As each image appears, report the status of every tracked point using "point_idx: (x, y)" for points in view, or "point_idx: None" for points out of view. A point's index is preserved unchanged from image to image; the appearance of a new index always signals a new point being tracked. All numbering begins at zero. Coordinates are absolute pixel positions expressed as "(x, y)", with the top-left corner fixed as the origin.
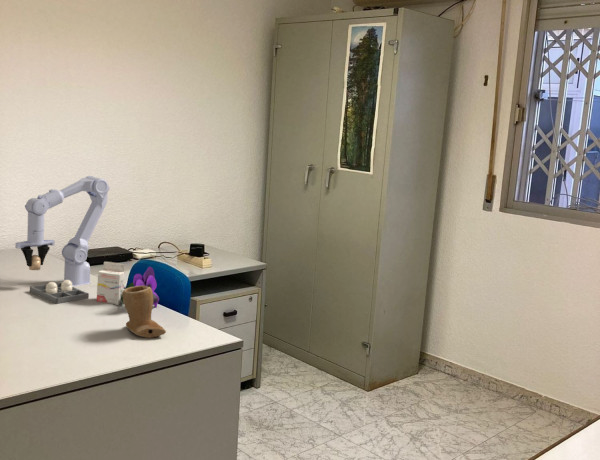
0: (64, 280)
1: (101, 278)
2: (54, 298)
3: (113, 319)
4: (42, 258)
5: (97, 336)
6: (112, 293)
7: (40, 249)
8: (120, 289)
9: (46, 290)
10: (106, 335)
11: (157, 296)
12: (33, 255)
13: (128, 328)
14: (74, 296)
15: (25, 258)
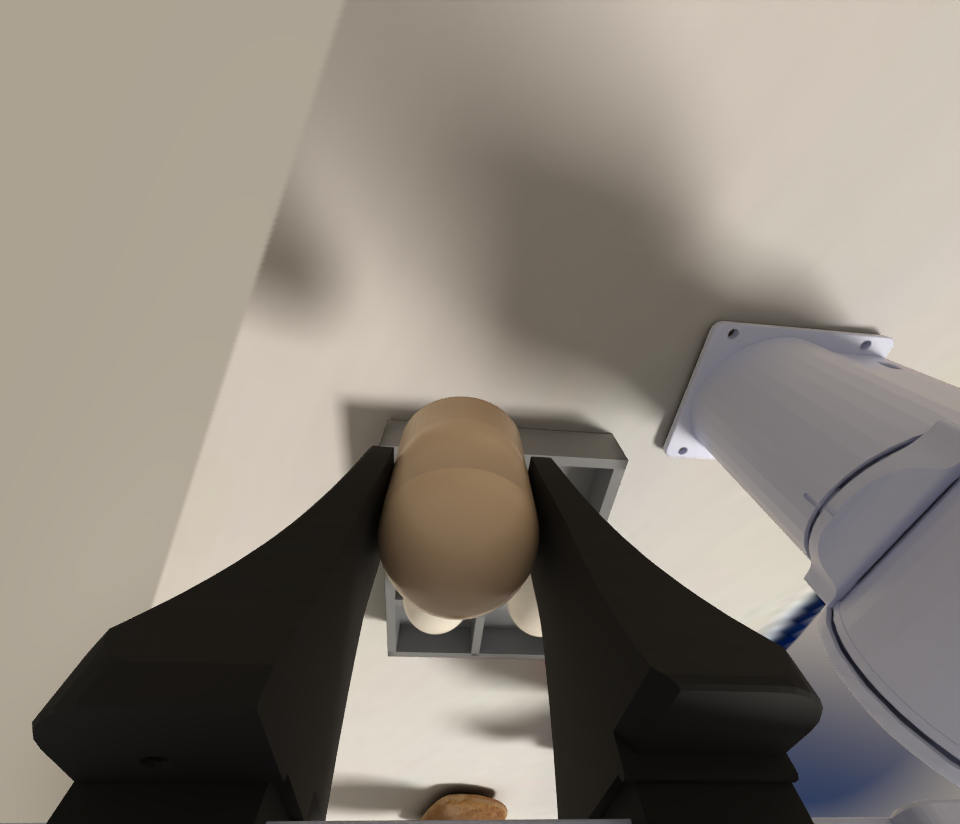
0: (531, 623)
1: None
2: (388, 640)
3: (462, 753)
4: (537, 597)
5: (344, 793)
6: None
7: (583, 708)
8: None
9: None
10: (367, 795)
11: None
12: (423, 601)
13: (426, 811)
14: (482, 654)
15: (320, 503)
